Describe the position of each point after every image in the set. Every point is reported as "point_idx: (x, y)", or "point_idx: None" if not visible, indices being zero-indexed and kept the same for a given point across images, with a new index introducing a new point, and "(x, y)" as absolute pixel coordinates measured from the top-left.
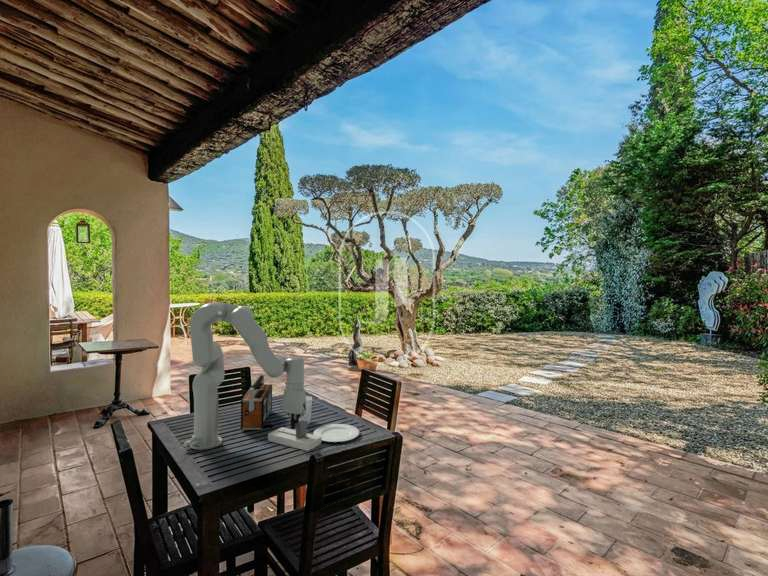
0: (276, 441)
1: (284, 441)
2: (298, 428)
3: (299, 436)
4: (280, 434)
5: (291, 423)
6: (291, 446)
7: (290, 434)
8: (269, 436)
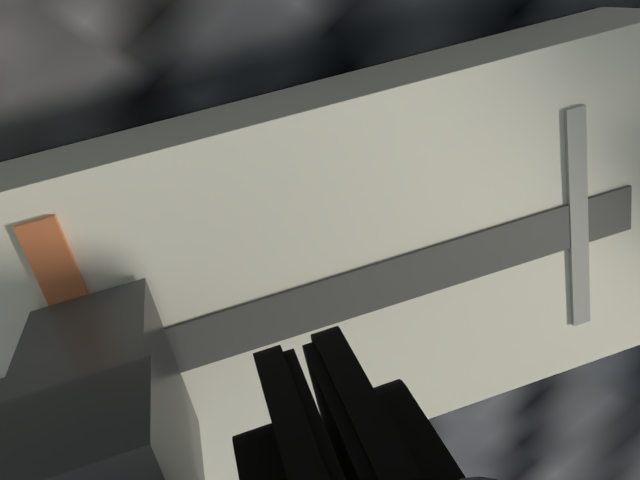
0: (447, 50)
1: (288, 100)
2: (11, 411)
3: (47, 321)
4: (490, 156)
5: (355, 403)
6: (125, 131)
7: (346, 278)
8: (624, 16)
